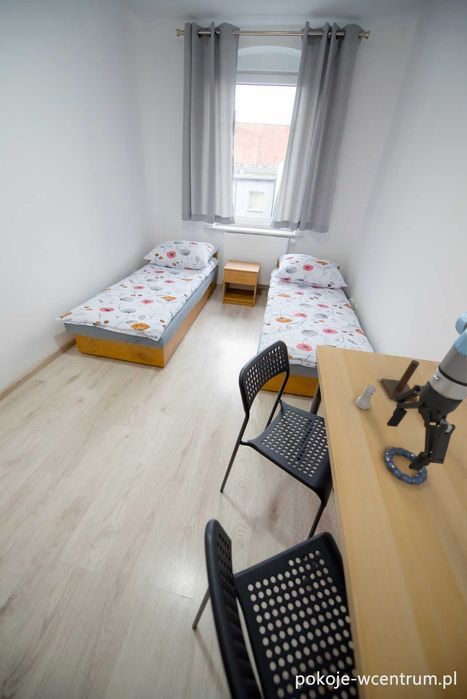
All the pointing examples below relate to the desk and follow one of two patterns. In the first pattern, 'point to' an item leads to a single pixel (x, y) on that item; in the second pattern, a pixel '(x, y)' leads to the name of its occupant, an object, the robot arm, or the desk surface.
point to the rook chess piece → (365, 397)
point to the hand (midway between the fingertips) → (401, 445)
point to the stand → (400, 382)
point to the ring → (396, 472)
